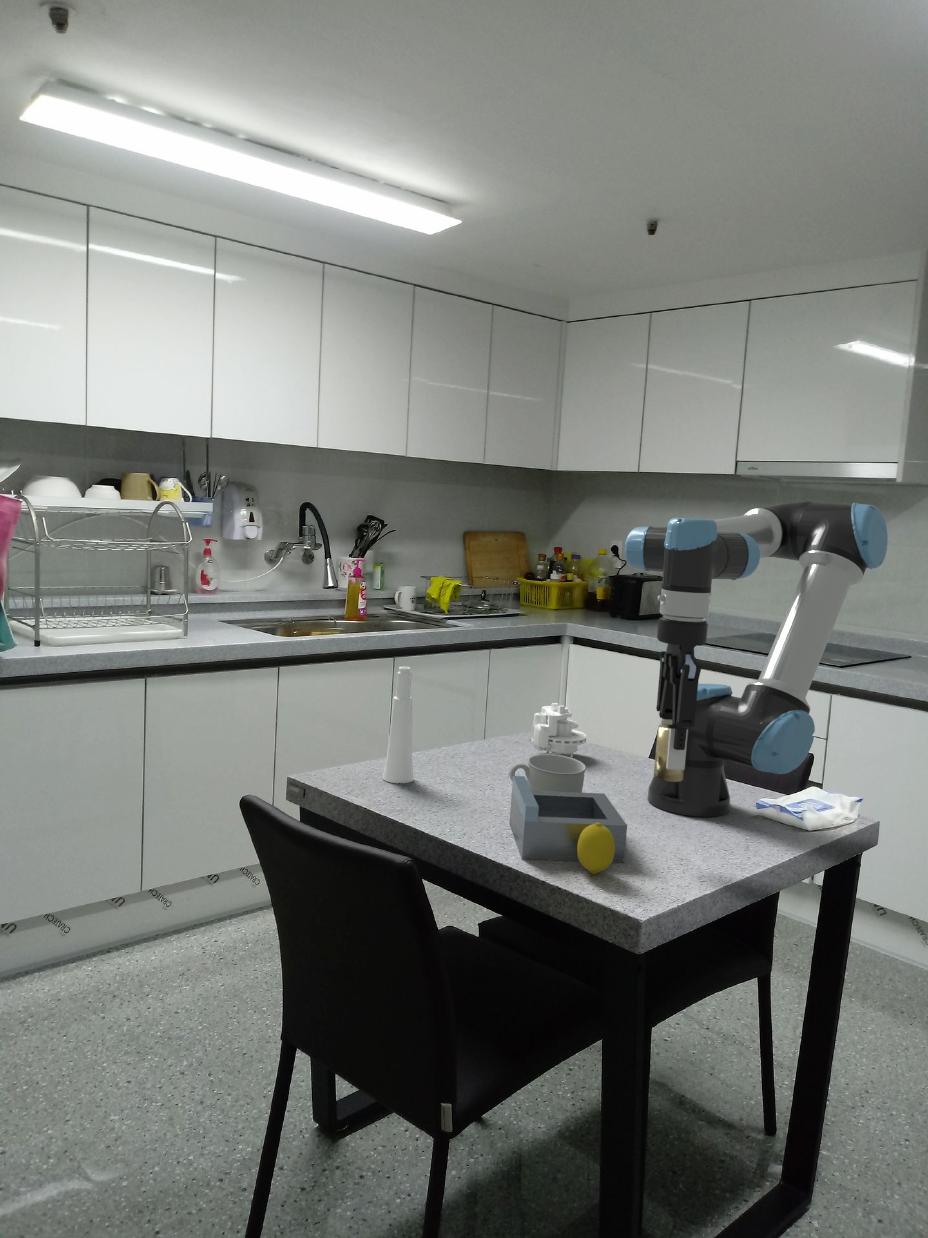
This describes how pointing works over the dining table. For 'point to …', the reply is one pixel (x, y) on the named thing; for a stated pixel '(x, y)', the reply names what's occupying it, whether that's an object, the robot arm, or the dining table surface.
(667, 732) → the brass cylinder
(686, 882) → the dining table surface
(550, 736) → the mechanical part
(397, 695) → the cosmetic bottle
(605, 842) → the lemon
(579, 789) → the teacup
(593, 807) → the jig
